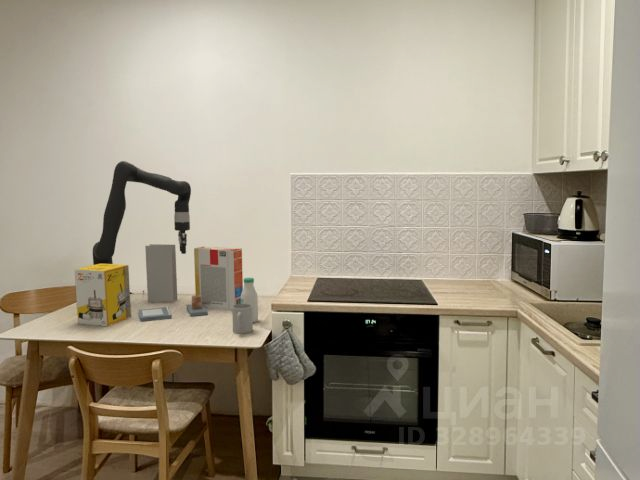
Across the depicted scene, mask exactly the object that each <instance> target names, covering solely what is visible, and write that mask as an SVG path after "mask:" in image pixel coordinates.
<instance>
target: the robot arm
mask: <svg viewBox="0 0 640 480" xmlns="http://www.w3.org/2000/svg"><path fill="white" fill-rule="evenodd" d="M128 182H129V183H131V182H133V183H139V184H144V185H148V186H151V187H153V188H156V189H159V190H162V191H167V192H168V193H169V194H172V195H174V196H177V200H175V201H174V216H173V218H174V231H178V233H177V236H178V244H179V252H181V255H185V254H187V247H186V246H187V245H188V243H187V241H188V239H187V237H188V236H187V235H188V234H187V233H186V231H190V229H191V225H190V224H191V222H190V221H191V220H190V219H191V218H190V217H191V216H190V206H189V205H190V204H189V203H190V200H191V195H192V187H191V184H190V183H189V182H188V181H184V180H183V181H182V180H174V179H172V178H171V177H169V176H165V175H163V174H158V173H153V172H148V171H145V170H144V169H141V168H139V167H137V166H135V165H134V164H133V163H129V162H128V161H124V160H123V161H119V162H118V163H117V164H116V166H115V167H114V171H113V177H112V183H111V188H110V192H109V195H108V199H107V202H106V204H105V205H106V207H105V208H104V213H103V221H102V222H103V223H102V231H101V232H102V233H101V236H100V239H99V241H98V242H96V243H95V244H94V245H93V248H92V262H93V263H92V265H96V264H114V261H113V257H114V254H115V249H116V243H117V238H118V234H119V232H120V231H119V230H120V229H121V225H122V222H123V219H124V215H125V213H126V212H125V211H126V208H127V202H126V201H127V200H126V192H125V191H126V187H127V183H128Z"/></svg>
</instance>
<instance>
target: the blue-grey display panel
mask: <svg viewBox="0 0 640 480" xmlns="http://www.w3.org/2000/svg"><path fill="white" fill-rule="evenodd" d="M138 317H139V322H140V321H141V322H149V321H158V320H159V321H160V320H169V319H170V320H171V319H172V313H171V310H170V308H169V306H165V307H164V306H163V307H154V308H153V307H152V308H143V309H142V308H141V309H138Z"/></svg>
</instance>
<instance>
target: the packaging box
mask: <svg viewBox="0 0 640 480" xmlns="http://www.w3.org/2000/svg"><path fill="white" fill-rule="evenodd" d="M129 269H130V267H129V264H119V263H118V264H115V263H113V264H96V265H93V264H92V265H88V266H84V267H79V268H75V269H74V280H75V281H74V282H75V297H76V298H75V299H76V311H77V315H76V316H77V324H79V325H80V324H81V325H90V326H91V325H92V326H99V325H101V327H109V325H110V326H111V324H112V325H115V324H117V323H119V321H120V322H122V321H124V320H126V319H129V318H132V309H131V308H132V306H131V288H130V271H129ZM121 320H122V321H121ZM116 322H117V323H116ZM114 323H115V324H114Z"/></svg>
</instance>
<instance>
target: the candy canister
mask: <svg viewBox="0 0 640 480" xmlns="http://www.w3.org/2000/svg"><path fill="white" fill-rule="evenodd" d="M254 281H255V279H254V278H253V277H244V278H243V285H244V286H243V291H242V293H241V304H251V305H252V323H256V322H258V320H259V310H258V309H259V302H258V301H259V300H258V293H257V291H256V289H255V286H254V283H255V282H254Z"/></svg>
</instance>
